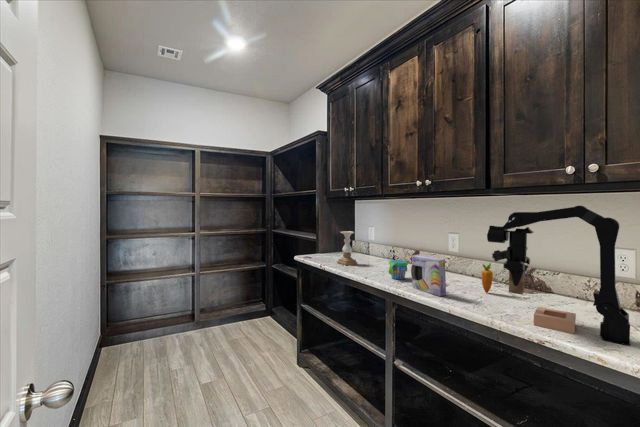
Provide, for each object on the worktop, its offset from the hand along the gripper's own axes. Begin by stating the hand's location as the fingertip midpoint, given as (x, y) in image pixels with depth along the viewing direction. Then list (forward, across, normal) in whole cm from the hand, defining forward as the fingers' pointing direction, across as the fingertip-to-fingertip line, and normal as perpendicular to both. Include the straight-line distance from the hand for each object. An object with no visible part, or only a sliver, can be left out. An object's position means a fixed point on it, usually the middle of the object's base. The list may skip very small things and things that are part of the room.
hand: (516, 284), depth 120 cm
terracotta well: (+13, -1, +12) cm, 18 cm away
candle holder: (+13, -44, -113) cm, 122 cm away
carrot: (+13, -30, -17) cm, 37 cm away
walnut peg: (+3, 0, 0) cm, 3 cm away
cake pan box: (+13, -12, -40) cm, 44 cm away
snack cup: (+13, -28, -64) cm, 71 cm away
